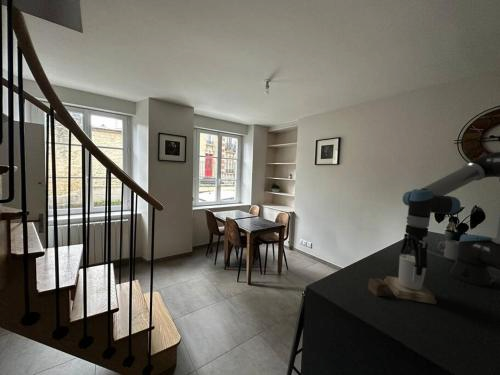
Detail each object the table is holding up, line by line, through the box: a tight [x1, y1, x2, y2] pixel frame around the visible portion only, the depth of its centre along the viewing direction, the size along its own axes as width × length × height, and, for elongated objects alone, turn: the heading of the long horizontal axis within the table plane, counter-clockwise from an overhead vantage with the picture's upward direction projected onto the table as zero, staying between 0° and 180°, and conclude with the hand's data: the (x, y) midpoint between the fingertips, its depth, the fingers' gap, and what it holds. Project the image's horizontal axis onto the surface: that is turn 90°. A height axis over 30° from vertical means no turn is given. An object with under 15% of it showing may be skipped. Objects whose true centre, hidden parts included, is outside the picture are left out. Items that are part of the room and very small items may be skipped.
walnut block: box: [367, 277, 389, 297], centre depth 94 cm, size 5×5×5 cm
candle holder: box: [397, 253, 429, 290], centre depth 96 cm, size 10×10×12 cm
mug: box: [437, 239, 460, 261], centre depth 143 cm, size 12×8×11 cm
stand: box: [383, 275, 437, 305], centre depth 96 cm, size 14×14×3 cm
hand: (410, 275), depth 96 cm, fingers closed on candle holder, 9 cm apart
